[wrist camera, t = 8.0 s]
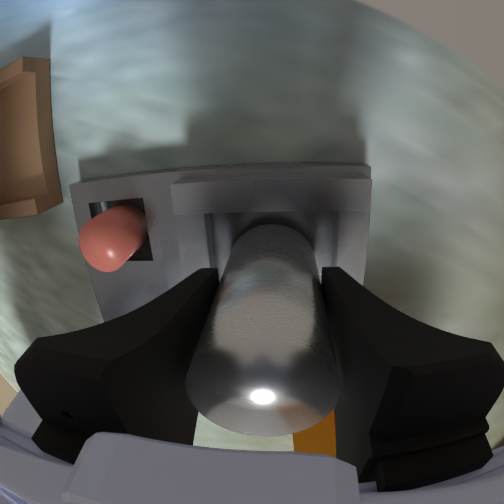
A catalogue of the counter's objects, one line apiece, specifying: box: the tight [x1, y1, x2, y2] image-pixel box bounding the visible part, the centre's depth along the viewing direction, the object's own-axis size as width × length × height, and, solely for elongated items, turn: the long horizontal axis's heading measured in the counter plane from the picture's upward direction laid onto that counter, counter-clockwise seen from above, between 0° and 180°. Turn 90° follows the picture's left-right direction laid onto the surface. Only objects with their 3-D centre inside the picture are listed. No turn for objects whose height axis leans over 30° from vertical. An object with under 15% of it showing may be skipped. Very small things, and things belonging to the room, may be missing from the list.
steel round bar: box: [186, 224, 340, 436], centre depth 10 cm, size 4×4×7 cm
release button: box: [79, 202, 148, 272], centre depth 13 cm, size 2×2×2 cm
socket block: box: [69, 162, 372, 322], centre depth 14 cm, size 14×8×2 cm, turn 93°
